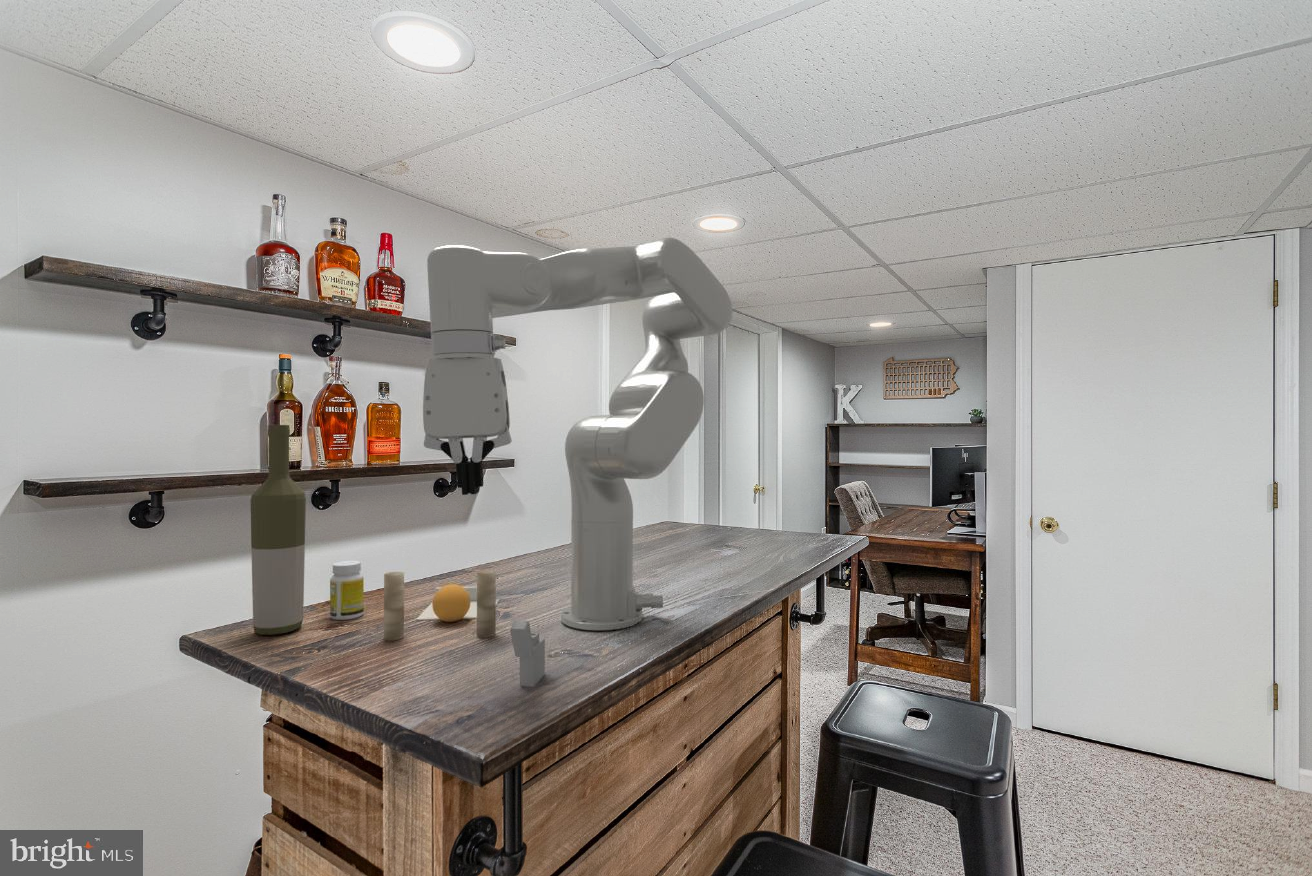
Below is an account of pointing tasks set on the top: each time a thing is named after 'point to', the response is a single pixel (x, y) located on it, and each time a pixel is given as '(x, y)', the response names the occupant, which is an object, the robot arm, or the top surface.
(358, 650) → the top surface
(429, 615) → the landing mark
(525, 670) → the lighter
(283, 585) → the bottle
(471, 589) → the stopper rail
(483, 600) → the post
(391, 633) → the post
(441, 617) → the ball
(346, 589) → the supplement bottle
